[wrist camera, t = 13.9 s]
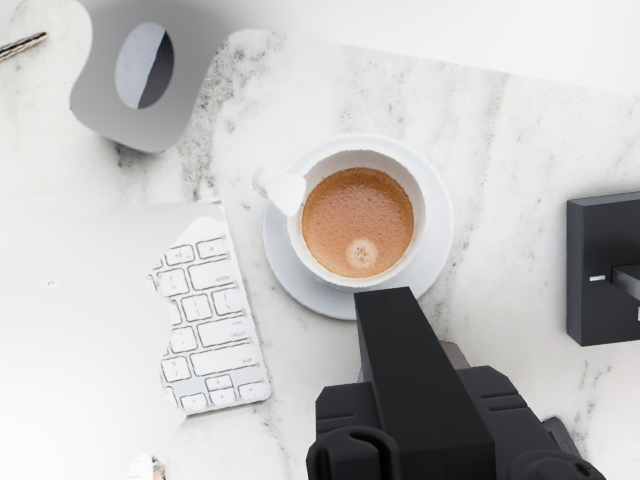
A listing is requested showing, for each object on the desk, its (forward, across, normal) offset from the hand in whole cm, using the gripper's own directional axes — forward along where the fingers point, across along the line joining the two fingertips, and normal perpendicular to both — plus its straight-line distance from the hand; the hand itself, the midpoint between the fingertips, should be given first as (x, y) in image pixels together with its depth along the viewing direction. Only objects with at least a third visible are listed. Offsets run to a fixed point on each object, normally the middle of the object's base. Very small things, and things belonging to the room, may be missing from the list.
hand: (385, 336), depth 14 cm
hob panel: (+34, +28, -12) cm, 46 cm away
